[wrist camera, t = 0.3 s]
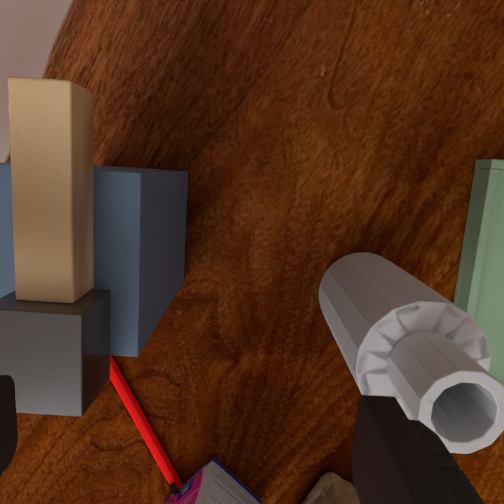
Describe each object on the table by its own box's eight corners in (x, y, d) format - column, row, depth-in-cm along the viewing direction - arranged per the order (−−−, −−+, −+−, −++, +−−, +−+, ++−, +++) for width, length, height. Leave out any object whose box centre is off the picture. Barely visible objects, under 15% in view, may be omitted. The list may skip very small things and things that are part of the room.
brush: (19, 86, 17) (-34, 67, 14) (112, 92, 17) (79, 75, 14) (28, 371, 19) (-15, 411, 16) (110, 376, 19) (82, 417, 16)
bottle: (322, 249, 31) (392, 329, 16) (408, 254, 31) (563, 340, 16) (314, 330, 33) (372, 481, 17) (397, 335, 33) (531, 490, 17)
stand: (102, 165, 30) (-8, 162, 18) (188, 171, 30) (141, 172, 18) (102, 276, 32) (0, 348, 19) (183, 281, 32) (137, 357, 19)
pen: (200, 534, 36) (199, 545, 35) (90, 336, 33) (85, 342, 32) (210, 530, 36) (209, 541, 35) (101, 331, 33) (96, 337, 32)
